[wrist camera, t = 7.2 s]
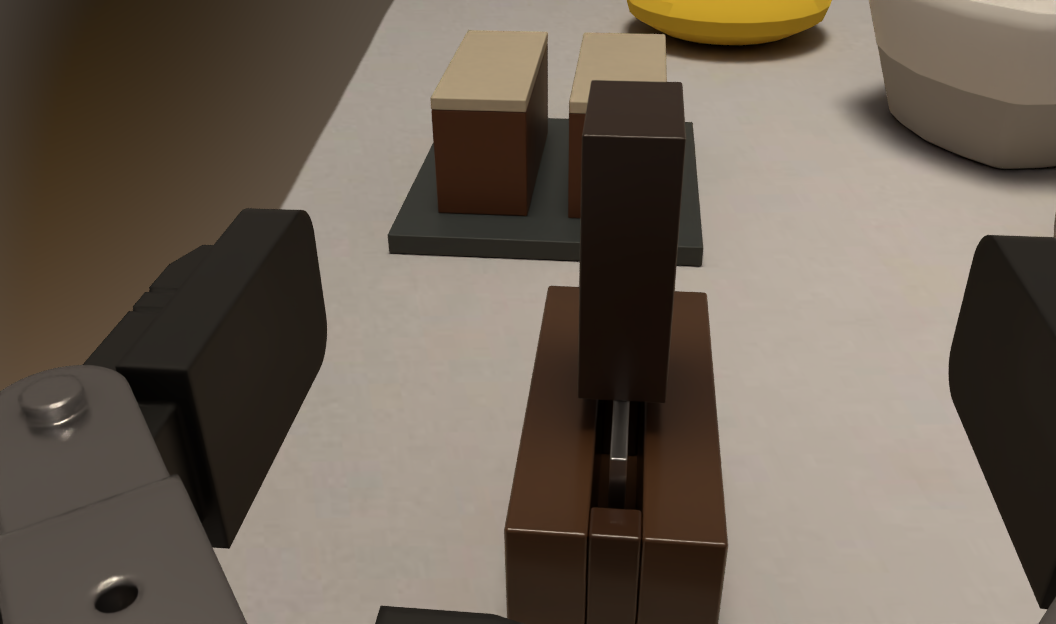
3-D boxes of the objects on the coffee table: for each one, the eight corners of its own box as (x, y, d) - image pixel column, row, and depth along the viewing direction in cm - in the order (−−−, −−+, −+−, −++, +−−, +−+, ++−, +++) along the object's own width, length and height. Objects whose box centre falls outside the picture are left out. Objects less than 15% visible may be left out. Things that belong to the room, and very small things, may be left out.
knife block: (702, 743, 26) (728, 545, 22) (510, 725, 26) (503, 530, 22) (690, 463, 35) (707, 291, 31) (548, 454, 35) (548, 284, 32)
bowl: (799, 101, 65) (819, -48, 60) (1016, 68, 70) (1051, -72, 65) (991, 212, 51) (1038, 30, 46) (1246, 161, 56) (1313, -8, 51)
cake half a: (659, 221, 49) (667, 103, 45) (567, 218, 49) (569, 101, 46) (659, 136, 58) (665, 33, 55) (582, 134, 58) (583, 32, 55)
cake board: (701, 266, 47) (703, 247, 46) (389, 253, 48) (387, 234, 48) (691, 137, 60) (692, 121, 60) (447, 130, 62) (446, 115, 61)
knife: (650, 664, 26) (689, 181, 19) (568, 657, 27) (574, 177, 19) (651, 467, 33) (680, 53, 26) (586, 462, 33) (595, 51, 26)
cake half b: (527, 216, 49) (525, 100, 46) (437, 213, 50) (430, 97, 47) (547, 133, 59) (547, 31, 55) (472, 131, 59) (467, 30, 56)
